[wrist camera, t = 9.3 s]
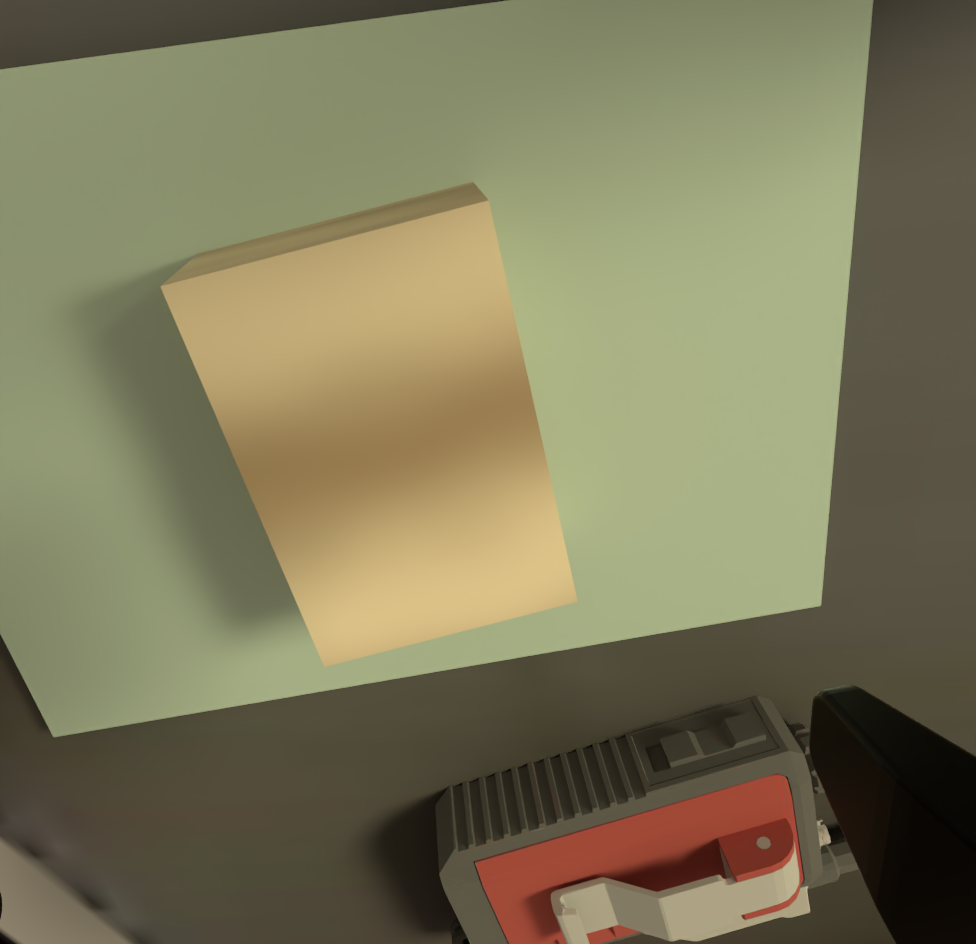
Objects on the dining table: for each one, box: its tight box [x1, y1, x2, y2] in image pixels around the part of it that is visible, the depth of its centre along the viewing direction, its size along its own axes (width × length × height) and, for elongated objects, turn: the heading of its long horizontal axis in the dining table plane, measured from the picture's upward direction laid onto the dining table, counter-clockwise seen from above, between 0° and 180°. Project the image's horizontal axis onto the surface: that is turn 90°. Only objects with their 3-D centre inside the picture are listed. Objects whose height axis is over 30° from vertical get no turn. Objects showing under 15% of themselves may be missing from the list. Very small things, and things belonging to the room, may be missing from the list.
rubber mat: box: [0, 0, 873, 737], centre depth 19 cm, size 22×16×1 cm
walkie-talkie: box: [435, 696, 859, 944], centre depth 25 cm, size 9×4×20 cm
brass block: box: [160, 182, 578, 667], centre depth 17 cm, size 9×6×3 cm, turn 13°
